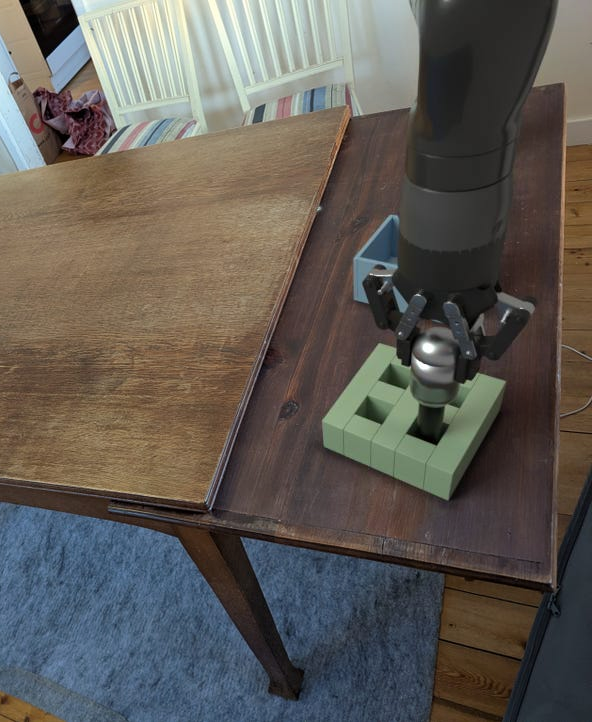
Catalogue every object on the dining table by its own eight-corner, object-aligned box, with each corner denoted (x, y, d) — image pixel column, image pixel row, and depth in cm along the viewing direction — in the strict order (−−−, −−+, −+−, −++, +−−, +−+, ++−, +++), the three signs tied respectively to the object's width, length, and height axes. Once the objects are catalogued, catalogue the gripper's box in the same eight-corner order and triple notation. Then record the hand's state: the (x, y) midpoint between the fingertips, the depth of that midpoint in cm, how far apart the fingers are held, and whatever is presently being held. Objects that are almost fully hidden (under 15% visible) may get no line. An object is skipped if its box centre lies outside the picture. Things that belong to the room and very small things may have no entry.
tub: (490, 277, 85) (498, 232, 80) (456, 327, 80) (463, 282, 75) (388, 256, 94) (390, 214, 89) (353, 300, 89) (353, 258, 84)
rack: (499, 410, 70) (506, 381, 67) (448, 501, 64) (453, 474, 61) (378, 370, 79) (379, 342, 75) (323, 446, 73) (321, 420, 70)
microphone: (455, 446, 67) (475, 325, 55) (438, 475, 66) (455, 356, 53) (415, 431, 70) (425, 312, 58) (398, 458, 68) (404, 341, 56)
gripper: (576, 206, 44) (534, 367, 56) (383, 182, 53) (380, 324, 65) (540, 266, 41) (503, 423, 53) (341, 229, 50) (346, 370, 62)
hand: (435, 368), depth 59 cm, fingers closed on microphone, 4 cm apart
